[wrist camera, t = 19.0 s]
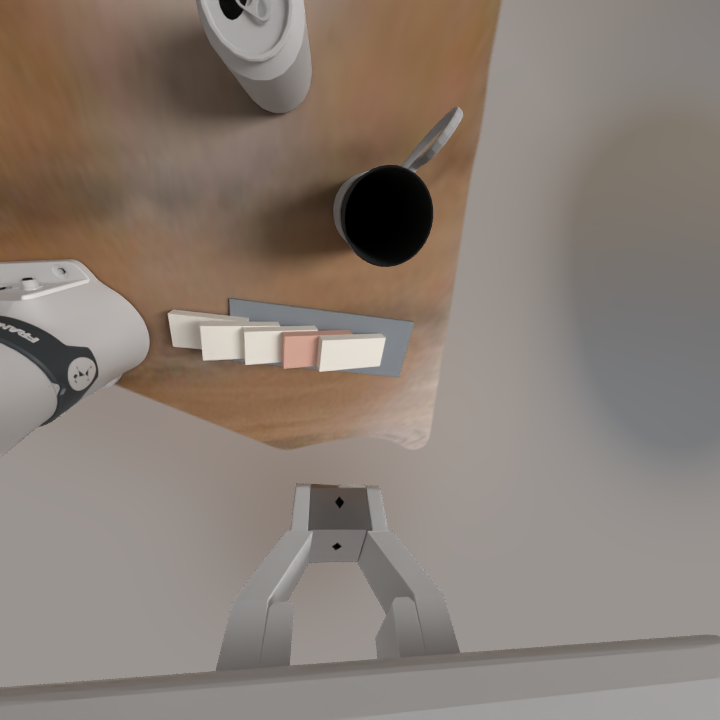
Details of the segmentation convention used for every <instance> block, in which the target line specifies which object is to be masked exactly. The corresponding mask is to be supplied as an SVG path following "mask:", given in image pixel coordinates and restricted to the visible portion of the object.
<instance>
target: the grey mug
mask: <svg viewBox="0 0 720 720" xmlns="http://www.w3.org/2000/svg"><path fill="white" fill-rule="evenodd" d="M462 117H463V112H462V110H461V109H460V108H459V107H458V106H457V107H456V108H454V109H452V110H451V111H450V112H449V113H448V114H446V115H445V116H444V117H443V118H442V119H441V120H440V121H439V122H438V123H437V124H436V125H435V126H434V127H433V128H432V129H431V131H430V132H429V133H428V134H427V135H426V136H425V137H424V138H423V140H422V141H421V142H420V143H419V144H418V146H417V147H416V148H415V149H414V151H413V152H412V153H411V154H410V155H409V157H408V158H407V159H406V160H405V162H404V163H403V164H402V165H401V166H397V165H385V166H380V167H377V168H374V169H372V170H369V171H367V172H364V173H359V174H357V175H354V176H352V177H351V178H349V179H348V180H347V181H346V182H345V183H343V185H342V186H341V187H340V189H339V191H338V193H337V195H336V197H335V201H334V206H333V217H334V222H335V225H336V228H337V230H338V232H339V234H340V235H341V237H342V238H343V239H344V240H345V241H346V242H347V244H348V245H349V247H350V248H351V249H352V251H353V252H354V253H355V254H356V255H357V256H359V257H360V258H362V259H363V260H365V261H366V262H368V263H370V264H373V265H376V266H381V267H390V266H396V265H399V264H402V263H404V262H406V261H408V260H409V259H411V258H412V257H413V256H414V255H416V254H417V253H418V251H419V250H420V249H421V248H422V247H423V245H424V244H425V242H426V240H427V238H428V236H429V234H430V230H431V227H432V222H433V205H432V199H431V196H430V193H429V191H428V189H427V187H426V185H425V184H424V182H423V181H422V180H421V179H420V177H419V176H417V175H416V174H415V172H416V170H417V169H418V168H419V167H420V166H422V165H424V164H426V163H427V162H428V161H429V160H431V159H432V158H433V157H434V156H435V155H436V154H437V153H438V151H439V150H440V149H441V148H442V147H443V146H444V144H445V143H446V142H447V141H448V139H449V138H450V137H451V135H452V134H453V132H454V131H455V129H456V128H457V126H458V125H459V123H460V121H461V119H462ZM444 128H445V129H444ZM443 129H444V130H443ZM442 130H443V131H442ZM441 131H442V133H441V134H440V135H439V137H438V138H437V139H436V140H435V142H434V143H433V144H432V145H431V146H430V147H429V149H428V150H427V151H426V152H425V153H424V154H423V155H422V156H420V157H418V156H419V155H420V154H421V153H422V151H423V150H424V149H425V148H426V147H427V146H428V144H429V143H430V142H431V141H432V140H433V139H434V138H435V137H436V136H437V135H438V134H439V133H440V132H441ZM417 157H418V158H417ZM416 158H417V159H416Z"/></svg>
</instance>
